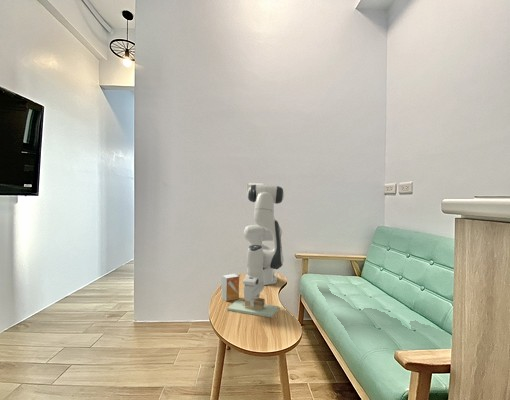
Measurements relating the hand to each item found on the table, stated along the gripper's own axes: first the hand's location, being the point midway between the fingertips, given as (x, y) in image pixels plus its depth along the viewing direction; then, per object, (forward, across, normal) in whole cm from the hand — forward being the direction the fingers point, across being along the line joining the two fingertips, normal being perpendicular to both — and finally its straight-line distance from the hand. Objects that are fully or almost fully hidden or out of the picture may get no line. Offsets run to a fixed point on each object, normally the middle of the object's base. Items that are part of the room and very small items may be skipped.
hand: (254, 303), depth 151 cm
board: (+3, 0, -1) cm, 3 cm away
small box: (+3, -10, -18) cm, 21 cm away
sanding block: (+2, 0, 0) cm, 2 cm away
